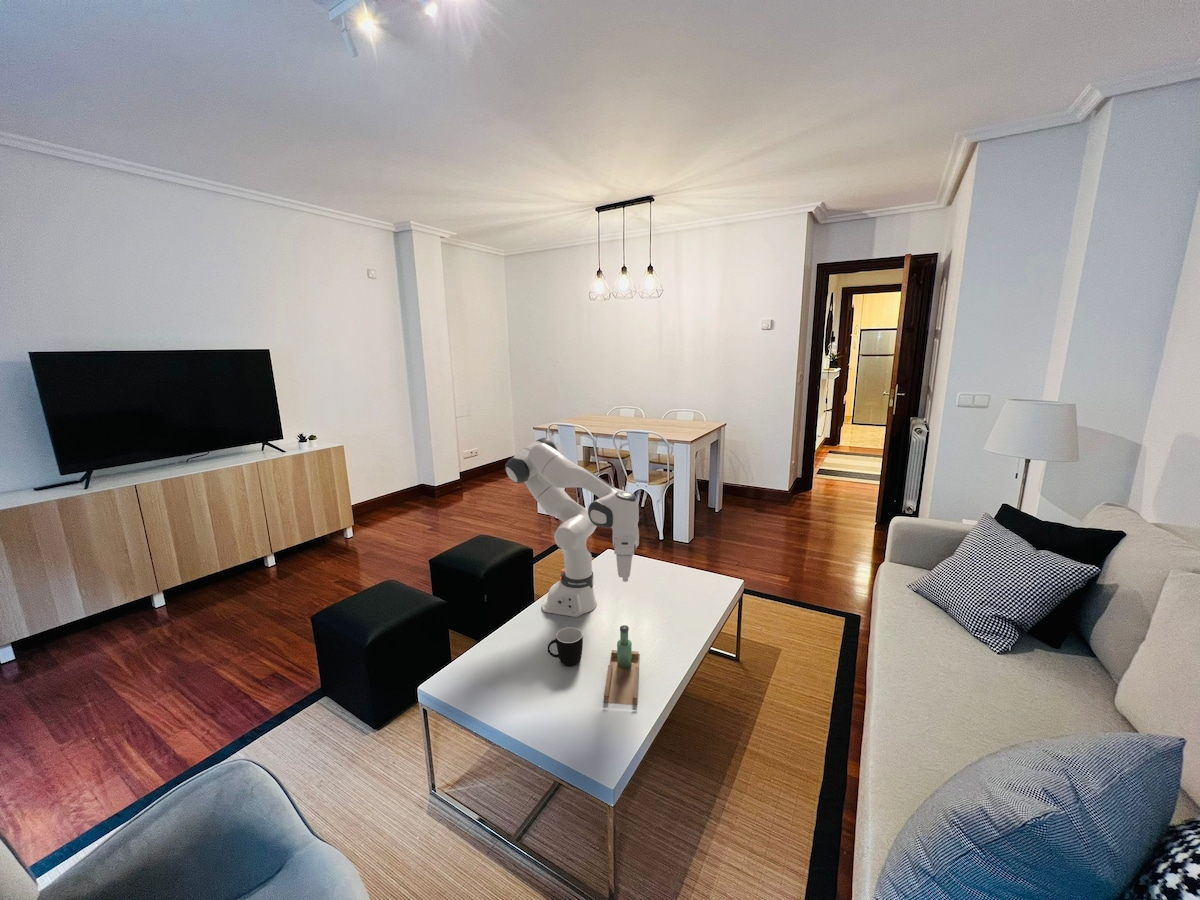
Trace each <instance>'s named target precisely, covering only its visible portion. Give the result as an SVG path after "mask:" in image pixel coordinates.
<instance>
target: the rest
mask: <svg viewBox="0 0 1200 900" xmlns="http://www.w3.org/2000/svg"><path fill="white" fill-rule="evenodd" d="M639 652H640V651H638V650H637V651H635V650H632V665H631V667H630V668H628V669H621V668H619V667H618V665H617V649H611V652H610V660H609V664H608V666H607V670H606V671H607V672H606V678H605V685H604V692H603V703H605V704H607V703H608V704H618V705H621V704H622V705H631V706H632V705H633V706H638V697H639V678H640V659H641V653H639Z"/></svg>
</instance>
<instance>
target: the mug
mask: <svg viewBox="0 0 1200 900" xmlns="http://www.w3.org/2000/svg"><path fill="white" fill-rule="evenodd" d="M583 636H584V635H583V632H582V630H581V629H579V628H577V627H572V626H569V627H563V628H561V629H559V630H558V631H557V632H556V634H555V639H553V640H551V641H550V642H549V643H548V644H547V652H548V654H549V655H550V656H551V657H552V658H556V659H558V660H559V662H560V664H561V665H563V666H564V667H567V668H571V667H575V666H577V665H579V664H580V662H581V659H582V654H583V646H584V645H583V643H584V637H583ZM553 644H556V650H557V653H556V654H554V653H553V652H552V651H551V650H550V648H551V646H552V645H553Z"/></svg>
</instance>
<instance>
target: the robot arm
mask: <svg viewBox="0 0 1200 900" xmlns="http://www.w3.org/2000/svg"><path fill="white" fill-rule="evenodd" d="M557 449H558V448H557V447H556V444H555V443H554V442H553V441H552V440H551V439H549V438H547V437H542V438H539V439H537V440H535V441H534V442H532V443H530V444H528V445H527V446H525V447H524V448H523V449H522V450H520V451H519V452H518V453H517V454H515V455H514V456H513V457H510V458H509V459H508V460H507V462H506V463H505V467H504V469H505V472H506V474H507V476H508V478H509V479H510V480H511V481H512V482H513V483H516V484H520V485H521V484H524V483H525V485H526V487H527V489H528V491H529V492H530V494H531V495H532V496H533V498H534V499H535V501H536V502H537V503H538V505H539V506H540V507H541V508H542V509H543V511H544V512H545V513H546V514H547V515H549V516H551V517H554V518H556V519H558V520H559V521H561V523H560V525H559V526H558V527H557V528H556V530H555V532H554V536H553V537H554V542H555V545H557V547H558V548H559V549H561V551H562V554H563V561H564V568H562V569H561V571H560V576H559V580H558V581H557V582H555V583H553V585H552V586H551V587H550V588H549V590H548V593H547V595H548V596H547V595H545V596H544V598H543V600H542V603H541V611H543V612H544V613H549V614H555V615H561V616H566V617H573V618H579V617H580V616H582V615H583V614H586V613H590V612H592V611H594V609H595V608H596V607H597V600H596V596H595V592H594V583H595V582H594V572H593V558H592V557H593V556H592V553H591V552H590V551H589V550H588V547H587V540H588V538H589V537H590V536H591V535H592V534H593V533H594V532H595V530H597V528H605V529H607V528H608V529H609V528H611V529H612V546H613V548H614V549H613V551H614V555H615V558H616V568H617V575H618V578H622V582H625V583H628V581H629V578H630V576H631V569H632V563H633V562H632V561H633V556H635V552H636V550H637V548H638V547H639V544H640V541H639V540H640V529H639V526H638V525H639V521H640V516H639V515H640V512H639V511H640V510H639V509H640V507H639V502H638V499H637V497H636V495H635V494H633V493H632V492H630V491H626V490H623V489H620V488H616V487H615V486H613V485H611V484H610V483H608V482H607V481H606V480H604V479H602V478H601V477H599V475H596V474H595V473H594V472H592V471H590V470H588V469H586V468H585V467H583V466H580V465H578V464H576V463H575V462H573V461H572V460H570V459H569V458H567V457H566V456H565V455H563V454H562V453H561V452H560V451H559V450H557ZM567 488H568V489H570V488H581V489H585V490H587V491H589V492H590V493H591V494H593V495H595V496H596V497H597V498H598V499H595V500H593V501H592V502H591V503H589V505H588V508H586V507H584V506H583V505H581V504H579V503H578V502H577V501H575V499H572V497H571V496H570V495H568V493H567V492H566V491H565V489H567Z"/></svg>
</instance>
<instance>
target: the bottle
mask: <svg viewBox="0 0 1200 900" xmlns="http://www.w3.org/2000/svg"><path fill="white" fill-rule="evenodd" d="M629 629H630V628H629V626H628V625H625V624H623V625H621V626H620V627H619V632H620V635H619V636H620V639H619V640H617V643H616V650H617V665H618V667H619V668H621V669H628V668H630V667H631V665H632V651H633V648H632V640H630V639H629Z"/></svg>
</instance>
